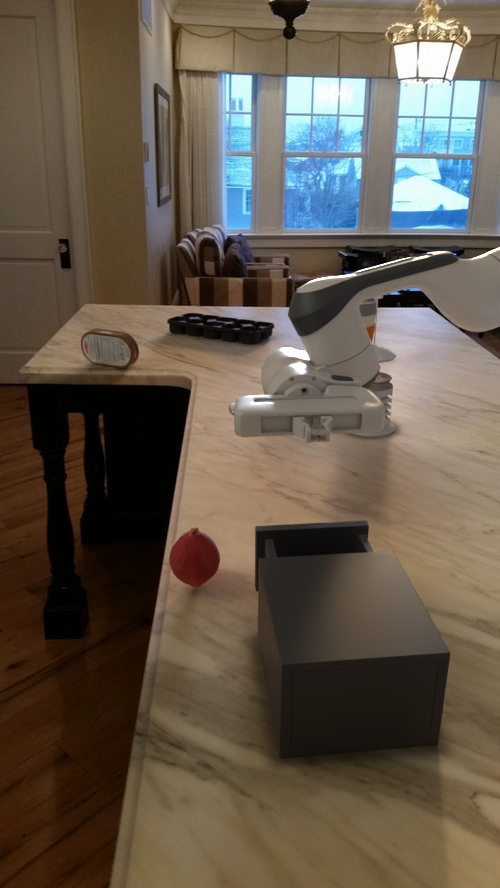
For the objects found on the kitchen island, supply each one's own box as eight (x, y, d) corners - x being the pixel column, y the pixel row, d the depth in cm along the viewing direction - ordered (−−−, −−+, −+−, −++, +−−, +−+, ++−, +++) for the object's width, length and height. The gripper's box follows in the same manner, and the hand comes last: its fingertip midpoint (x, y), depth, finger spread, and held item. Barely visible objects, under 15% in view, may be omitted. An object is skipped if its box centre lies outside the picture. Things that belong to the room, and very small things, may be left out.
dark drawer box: (257, 638, 74) (258, 558, 70) (386, 630, 75) (393, 550, 71) (279, 758, 59) (281, 664, 55) (438, 744, 61) (450, 652, 57)
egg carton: (182, 323, 207) (181, 311, 206) (280, 331, 199) (280, 317, 198) (157, 337, 192) (156, 324, 190) (262, 346, 184) (263, 332, 182)
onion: (161, 584, 83) (157, 524, 80) (200, 567, 86) (198, 509, 83) (189, 606, 79) (187, 544, 76) (230, 587, 82) (229, 527, 79)
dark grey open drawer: (253, 580, 82) (253, 520, 79) (359, 574, 83) (363, 515, 80) (271, 672, 68) (273, 603, 65) (399, 663, 69) (406, 595, 66)
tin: (140, 367, 165) (138, 332, 162) (133, 371, 163) (130, 335, 159) (88, 360, 171) (85, 326, 168) (80, 363, 169) (77, 328, 165)
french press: (403, 424, 132) (416, 289, 122) (377, 444, 123) (388, 300, 113) (356, 413, 137) (364, 283, 127) (327, 432, 128) (334, 293, 118)
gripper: (227, 381, 98) (235, 415, 86) (370, 377, 100) (399, 410, 88) (227, 423, 101) (235, 463, 88) (367, 418, 103) (394, 456, 90)
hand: (318, 436), depth 88 cm, fingers closed
